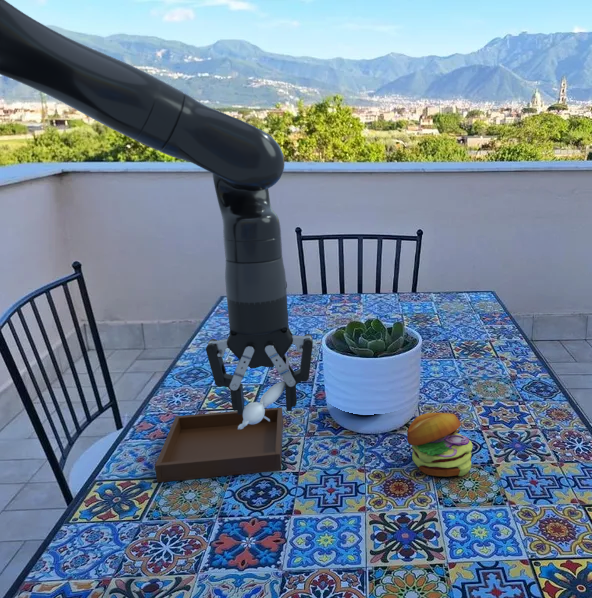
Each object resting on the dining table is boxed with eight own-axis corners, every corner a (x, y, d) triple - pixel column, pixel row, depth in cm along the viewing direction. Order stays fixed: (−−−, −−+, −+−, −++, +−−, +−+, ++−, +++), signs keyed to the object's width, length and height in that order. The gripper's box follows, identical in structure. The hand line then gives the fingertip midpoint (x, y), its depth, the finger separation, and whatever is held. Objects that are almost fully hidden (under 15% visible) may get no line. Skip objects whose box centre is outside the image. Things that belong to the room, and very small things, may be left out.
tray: (157, 482, 90) (154, 465, 89) (177, 430, 106) (175, 416, 105) (281, 470, 93) (279, 453, 92) (283, 421, 109) (282, 407, 108)
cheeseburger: (450, 491, 87) (438, 430, 86) (400, 479, 94) (388, 423, 93) (487, 462, 94) (476, 406, 93) (438, 453, 101) (427, 401, 100)
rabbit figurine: (225, 424, 76) (264, 382, 81) (246, 444, 77) (284, 401, 81) (237, 418, 71) (278, 374, 76) (259, 439, 72) (298, 394, 76)
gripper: (193, 302, 68) (206, 428, 72) (313, 297, 70) (319, 419, 74) (203, 286, 75) (215, 401, 80) (312, 282, 77) (317, 394, 81)
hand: (265, 409), depth 77 cm, fingers closed on rabbit figurine, 6 cm apart
